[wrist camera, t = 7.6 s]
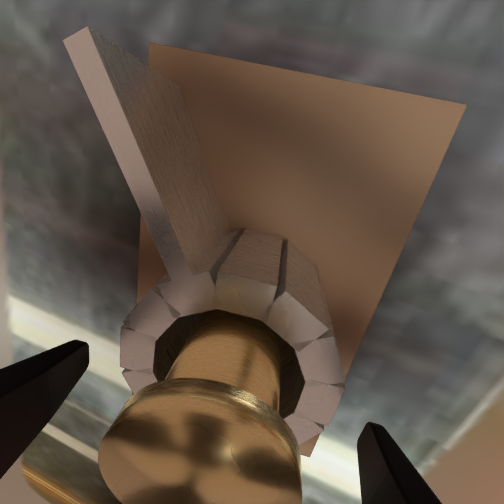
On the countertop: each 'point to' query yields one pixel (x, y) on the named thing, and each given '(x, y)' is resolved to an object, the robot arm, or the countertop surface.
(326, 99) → the walnut board
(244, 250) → the hinge
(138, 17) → the countertop surface
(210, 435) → the hinge pin
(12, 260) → the countertop surface
